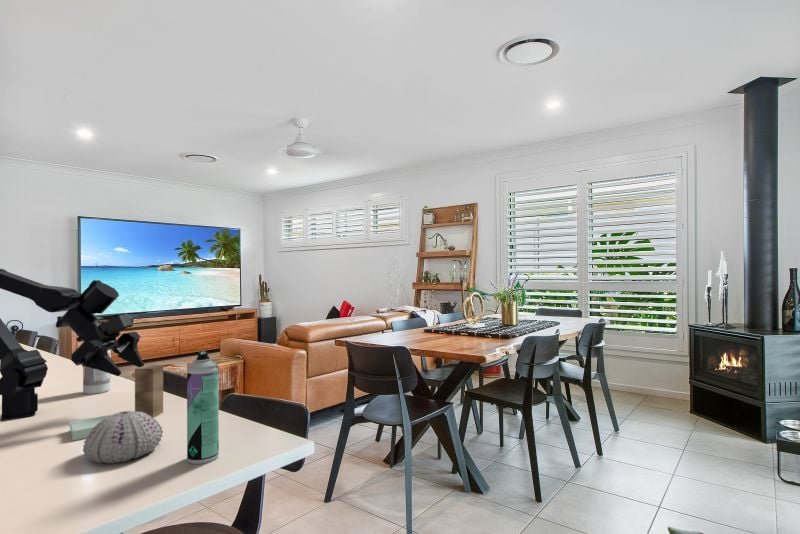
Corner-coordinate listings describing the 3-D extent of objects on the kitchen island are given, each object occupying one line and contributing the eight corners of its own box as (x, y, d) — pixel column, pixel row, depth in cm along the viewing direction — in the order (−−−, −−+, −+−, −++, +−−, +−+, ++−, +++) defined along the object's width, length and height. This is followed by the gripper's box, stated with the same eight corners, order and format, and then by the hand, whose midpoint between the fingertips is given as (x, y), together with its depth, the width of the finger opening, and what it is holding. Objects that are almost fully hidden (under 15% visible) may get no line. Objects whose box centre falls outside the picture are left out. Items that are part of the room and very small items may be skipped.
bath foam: (84, 390, 137) (84, 325, 138) (111, 387, 140) (111, 323, 141) (81, 395, 131) (81, 327, 131) (109, 392, 134) (109, 325, 135)
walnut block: (134, 418, 110) (134, 368, 110) (145, 412, 114) (145, 365, 114) (153, 418, 110) (153, 368, 110) (163, 412, 114) (163, 365, 114)
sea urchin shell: (177, 444, 92) (177, 405, 93) (120, 472, 79) (120, 426, 80) (126, 438, 96) (126, 401, 96) (63, 464, 83) (63, 420, 83)
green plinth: (73, 440, 95) (73, 431, 95) (70, 430, 101) (70, 421, 101) (117, 431, 100) (117, 422, 100) (112, 423, 106) (112, 414, 106)
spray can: (209, 450, 89) (209, 348, 89) (224, 457, 85) (224, 351, 86) (181, 459, 84) (181, 352, 85) (195, 466, 81) (195, 355, 81)
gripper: (83, 306, 103) (131, 353, 103) (133, 301, 122) (173, 341, 122) (49, 341, 103) (97, 388, 103) (104, 331, 122) (145, 371, 122)
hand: (131, 370), depth 112 cm, fingers open, 9 cm apart
